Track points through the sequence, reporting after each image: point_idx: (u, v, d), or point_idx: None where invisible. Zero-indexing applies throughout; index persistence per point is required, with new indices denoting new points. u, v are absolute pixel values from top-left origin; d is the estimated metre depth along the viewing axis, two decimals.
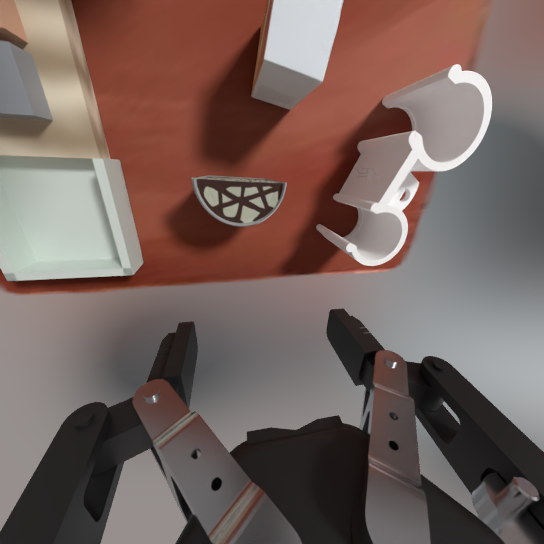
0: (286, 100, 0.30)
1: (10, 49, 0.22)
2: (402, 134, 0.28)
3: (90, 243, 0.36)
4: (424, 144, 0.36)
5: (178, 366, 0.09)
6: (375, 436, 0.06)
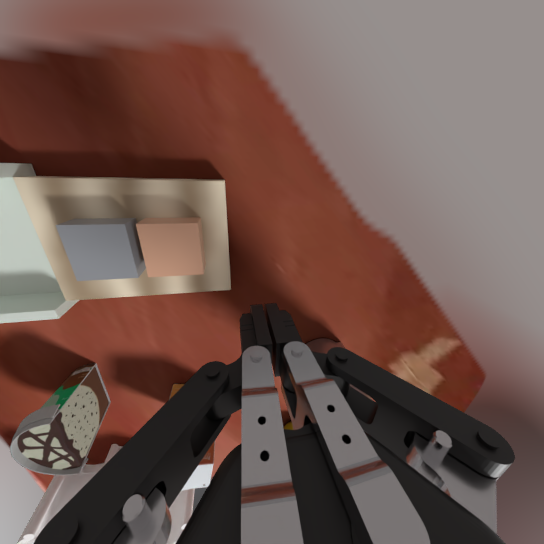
0: None
1: (132, 277, 0.25)
2: None
3: None
4: None
5: (267, 337, 0.11)
6: (330, 442, 0.06)
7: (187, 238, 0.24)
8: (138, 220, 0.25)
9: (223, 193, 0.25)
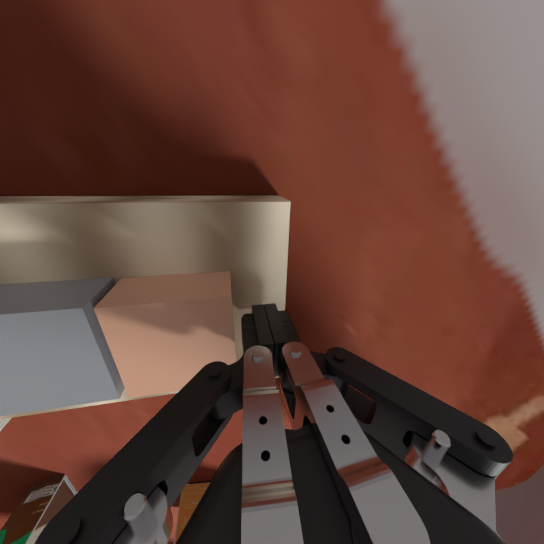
0: None
1: (108, 398, 0.12)
2: None
3: None
4: None
5: (268, 337, 0.11)
6: (329, 443, 0.06)
7: (208, 326, 0.11)
8: None
9: (285, 225, 0.13)
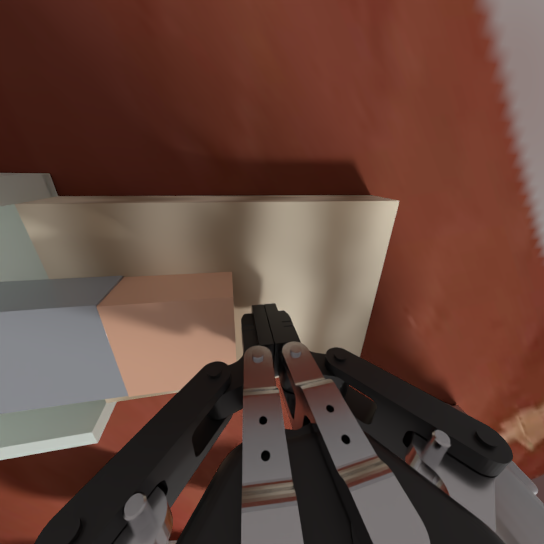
0: None
1: (117, 395, 0.12)
2: None
3: None
4: None
5: (268, 337, 0.11)
6: (330, 443, 0.06)
7: (209, 326, 0.11)
8: (242, 273, 0.14)
9: (390, 222, 0.14)
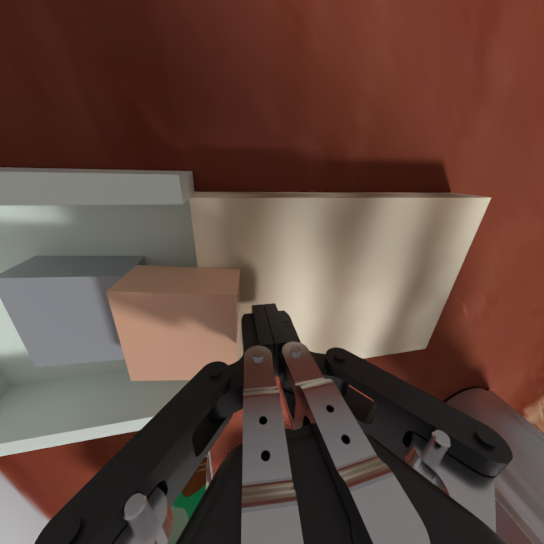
0: None
1: None
2: None
3: None
4: None
5: (268, 337, 0.11)
6: (329, 443, 0.06)
7: (211, 321, 0.11)
8: (352, 262, 0.15)
9: (480, 216, 0.16)
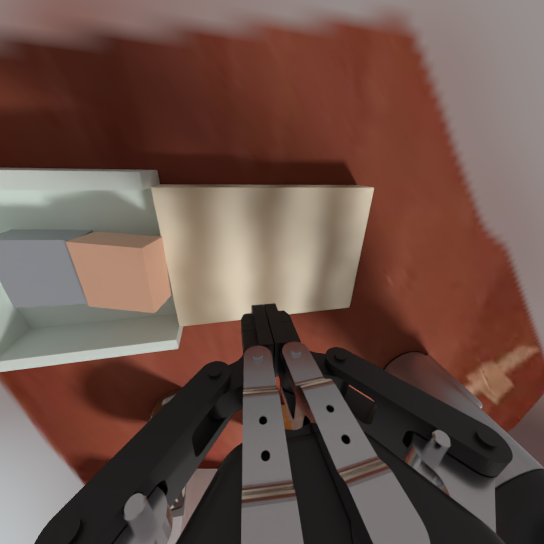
0: None
1: (87, 302, 0.20)
2: None
3: None
4: None
5: (268, 337, 0.11)
6: (329, 443, 0.06)
7: (129, 266, 0.18)
8: (274, 234, 0.22)
9: (369, 201, 0.22)
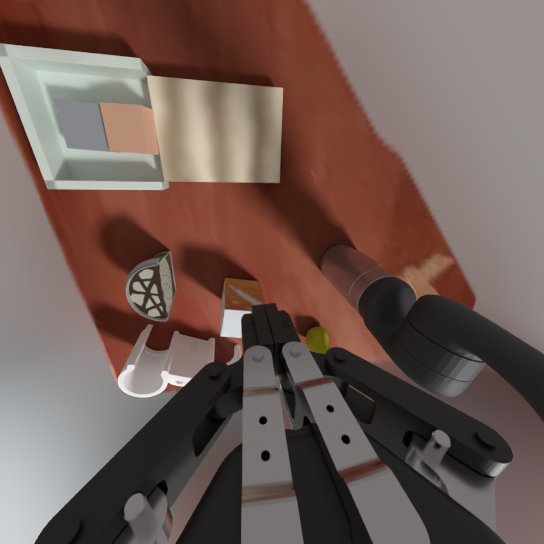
0: None
1: (108, 150, 0.34)
2: None
3: None
4: None
5: (268, 337, 0.11)
6: (329, 443, 0.06)
7: (133, 118, 0.31)
8: (222, 116, 0.35)
9: (281, 98, 0.36)
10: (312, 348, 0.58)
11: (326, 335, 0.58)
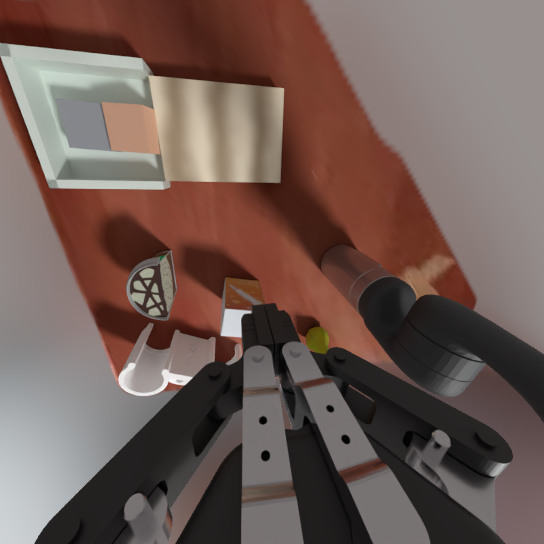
0: (222, 303, 0.49)
1: (110, 150, 0.34)
2: None
3: None
4: None
5: (268, 337, 0.11)
6: (329, 443, 0.06)
7: (135, 118, 0.32)
8: (223, 116, 0.35)
9: (282, 98, 0.36)
10: (312, 348, 0.58)
11: (326, 335, 0.58)
